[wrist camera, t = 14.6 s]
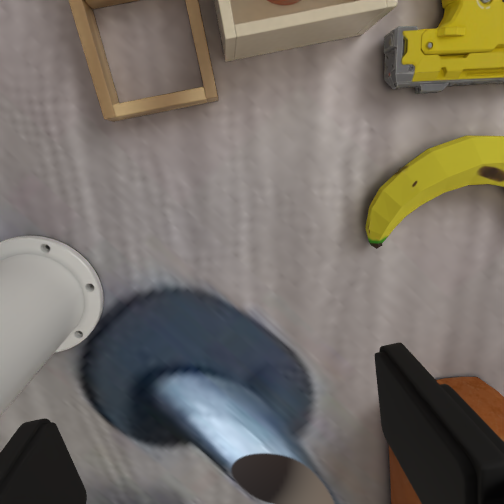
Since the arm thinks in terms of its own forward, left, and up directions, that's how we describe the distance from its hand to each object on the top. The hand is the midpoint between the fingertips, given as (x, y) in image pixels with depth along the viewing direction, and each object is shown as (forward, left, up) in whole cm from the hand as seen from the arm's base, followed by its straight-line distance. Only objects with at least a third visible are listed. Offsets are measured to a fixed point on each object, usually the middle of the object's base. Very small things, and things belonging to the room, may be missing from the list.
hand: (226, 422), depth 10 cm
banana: (+23, -3, -26) cm, 35 cm away
